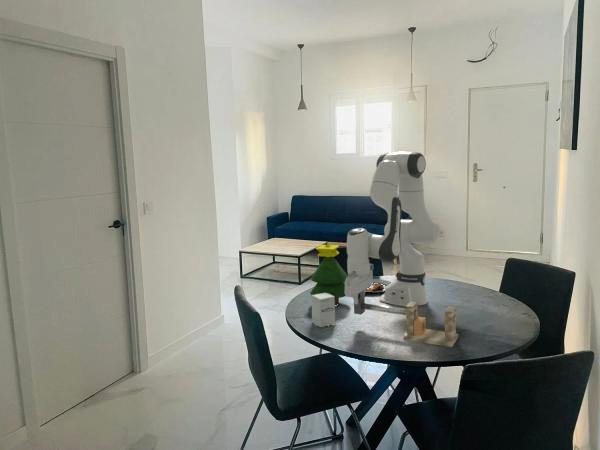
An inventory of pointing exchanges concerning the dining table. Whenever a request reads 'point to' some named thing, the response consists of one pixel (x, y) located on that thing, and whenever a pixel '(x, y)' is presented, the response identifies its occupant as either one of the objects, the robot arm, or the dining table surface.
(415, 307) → the shaft stand
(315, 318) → the supplement box
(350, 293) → the robot arm
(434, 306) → the dining table surface
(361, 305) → the shaft
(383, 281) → the food plate
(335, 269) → the decorative tree
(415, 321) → the spacer
